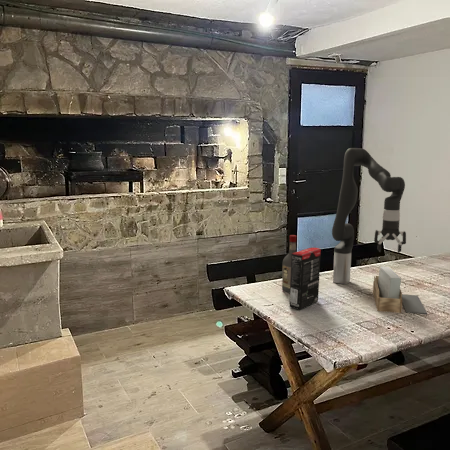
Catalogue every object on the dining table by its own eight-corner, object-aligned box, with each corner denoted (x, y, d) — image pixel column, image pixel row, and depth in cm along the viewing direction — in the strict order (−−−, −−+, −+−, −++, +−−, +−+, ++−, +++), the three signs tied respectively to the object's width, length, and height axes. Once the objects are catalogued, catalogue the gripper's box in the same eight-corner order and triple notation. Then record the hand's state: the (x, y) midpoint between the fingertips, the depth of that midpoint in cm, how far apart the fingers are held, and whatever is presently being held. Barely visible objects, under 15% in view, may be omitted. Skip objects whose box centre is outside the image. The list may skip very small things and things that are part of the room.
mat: (406, 312, 209) (406, 311, 209) (398, 295, 233) (398, 294, 233) (427, 314, 207) (427, 313, 207) (417, 296, 231) (417, 295, 231)
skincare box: (399, 310, 212) (401, 278, 210) (387, 310, 213) (389, 277, 210) (387, 295, 233) (389, 265, 230) (376, 295, 234) (378, 265, 231)
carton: (377, 311, 211) (378, 291, 210) (372, 292, 237) (373, 275, 235) (401, 313, 209) (402, 293, 207) (394, 294, 235) (395, 276, 233)
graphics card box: (307, 298, 229) (309, 246, 224) (319, 301, 225) (321, 248, 220) (288, 307, 217) (290, 252, 212) (301, 311, 212) (302, 254, 207)
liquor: (292, 286, 248) (293, 233, 242) (304, 291, 240) (305, 236, 235) (279, 289, 243) (280, 235, 238) (291, 294, 235) (292, 238, 230)
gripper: (376, 219, 214) (374, 253, 217) (408, 220, 210) (406, 254, 213) (374, 217, 221) (373, 249, 224) (405, 218, 218) (403, 250, 221)
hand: (389, 252), depth 219 cm, fingers open, 8 cm apart
